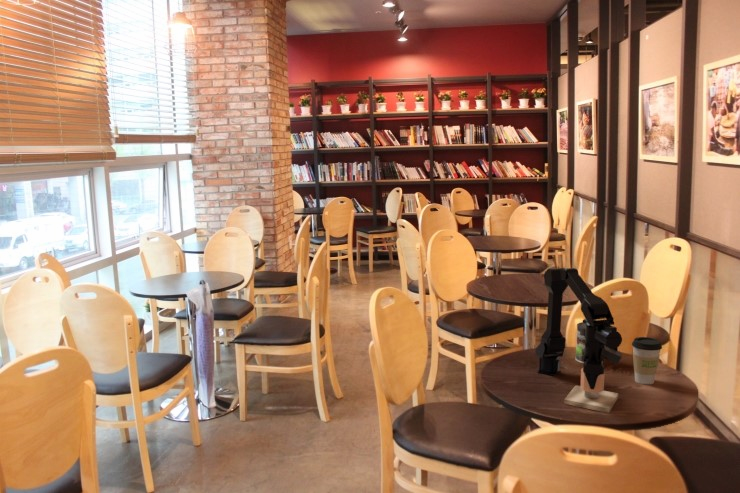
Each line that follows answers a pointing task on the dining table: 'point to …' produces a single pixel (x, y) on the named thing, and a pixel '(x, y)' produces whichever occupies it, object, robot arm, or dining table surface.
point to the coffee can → (580, 342)
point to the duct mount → (591, 399)
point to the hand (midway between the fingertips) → (592, 384)
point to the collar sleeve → (598, 386)
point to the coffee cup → (645, 359)
